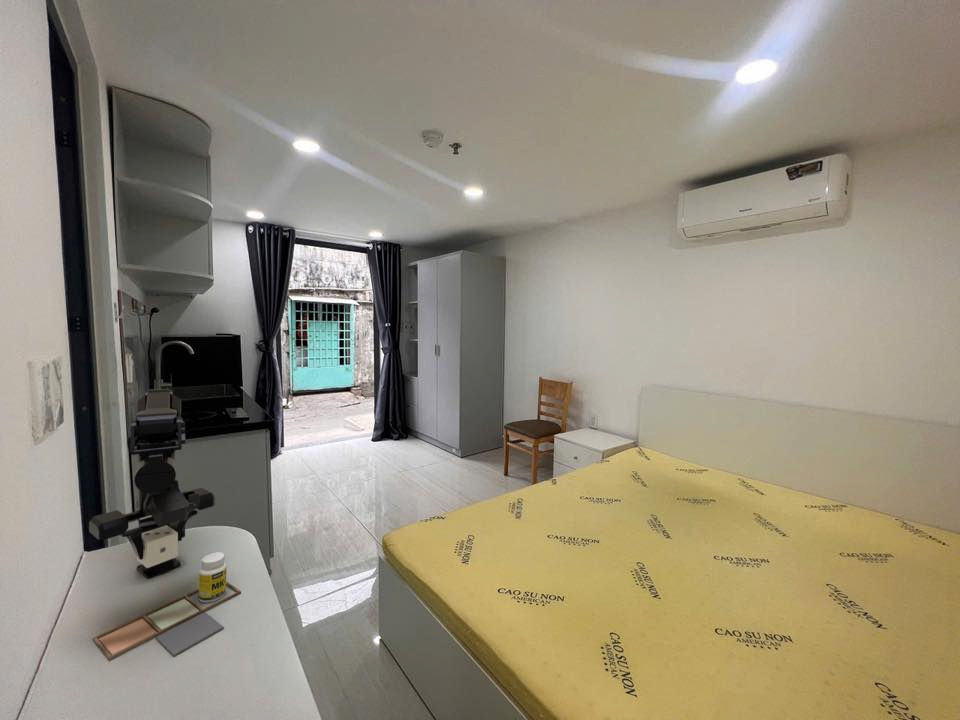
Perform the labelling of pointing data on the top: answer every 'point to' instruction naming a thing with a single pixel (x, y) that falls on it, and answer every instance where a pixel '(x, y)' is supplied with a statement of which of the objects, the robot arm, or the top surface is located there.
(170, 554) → the die
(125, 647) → the tray
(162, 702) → the top surface
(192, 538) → the top surface
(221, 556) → the supplement bottle
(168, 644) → the mat
